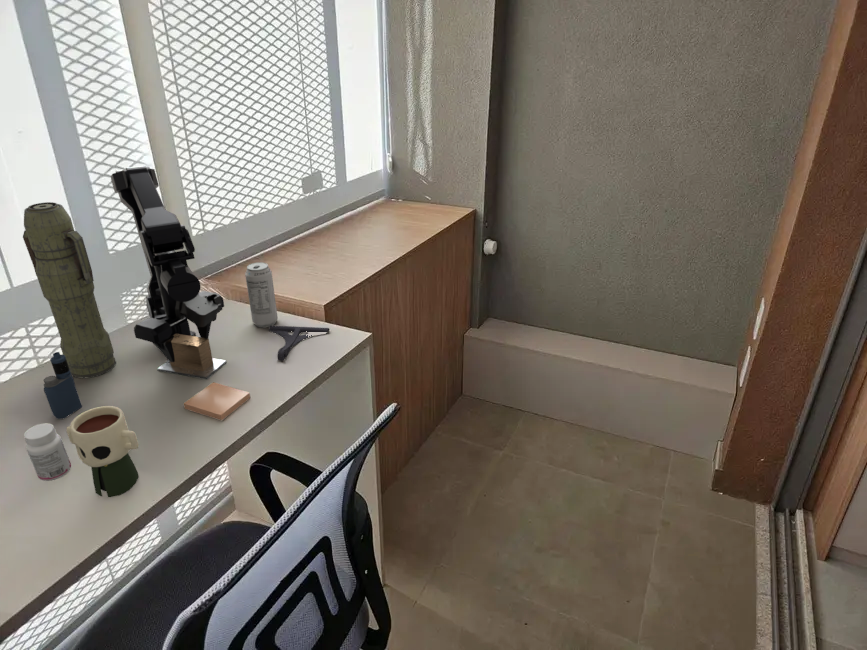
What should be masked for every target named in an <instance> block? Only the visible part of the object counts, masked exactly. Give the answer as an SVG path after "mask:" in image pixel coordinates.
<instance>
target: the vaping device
mask: <svg viewBox="0 0 867 650" xmlns="http://www.w3.org/2000/svg"><path fill="white" fill-rule="evenodd" d="M50 363H51V366H52V369H53V371H54V374H55V375H50V376H49V375H48V376H46V377H45V378H44V379H43V391H44V394H45V397H46V400H47V403H48V405H49V408H50V411H51V413H52V415H53V416H54V417H55V418H56V419H58V420H63V418H64V419H65V418H68V417H69V416H71V415H72V414H74V413H75V412H76V411H78V410H80V409H81V408H82V407H83V404H82V402H81V399H80V396H79V394H78V389H77V387H76V383H75V380H74V378H73V377H74V376H72V374H71V372H70V369H69V366H68V363H67V360H66V357H65V355H63V354H61V353H60V352H59V351H56V352H55V351H54V352H53V353H52V357H51V358H50ZM73 412H74V413H73ZM70 414H71V415H70ZM68 415H69V416H68ZM67 416H68V417H67Z"/></svg>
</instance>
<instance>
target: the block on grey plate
mask: <svg viewBox="0 0 867 650" xmlns="http://www.w3.org/2000/svg"><path fill="white" fill-rule="evenodd" d="M173 336H174V338H173V339H172V341H171V343H172V347H173V352H174V357H175V362H170V361H169V360H168V359H167V360H166V361H165V362H164V363H163V364H161V365H160V366H158V367H157V371H158V372H164V373H169V374H175V375H179V376H180V375H181V376H186V377H191V378H196V379H201V380H208V379H209V378H210V377H212V376H213V375H214V374H215V373H216V372H218V371H219V370H220V369H221V368H222V367H223V366H224V365H225V364H227V362H228V361H227V360H226V359H220V358H214V357H213V354H212V350H211V345H210V340H209V337H208V338H201V337H200V336H195V335H194V336H188V335H182V334H174V335H173Z"/></svg>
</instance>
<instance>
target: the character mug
mask: <svg viewBox="0 0 867 650" xmlns="http://www.w3.org/2000/svg"><path fill="white" fill-rule="evenodd" d="M66 434H67V436H68V439H69V442H70V444H72V445H75V449H76V453H77V455H78V458H79V460H81V462H82V464H85V465H86V466H88V467H89V468H91V475H92V482H93V486H94V491H95V494H97V495H98V496H100V497H103V493H102V491H103V492H105V493H106V496H107V498H114V497H118V496H122V495H123V494H125V493H127V492H129V491H131V489H132V488H133V487H134V486H135V484H137V482H138V480H139V478H140V475H139V472H138V470H137V468H136V467H137V466H135V463H134V461H133V459H132V458H131V456H130V453H129V452H130V450H133V451H135V450H137V449H139V445H140V444H139V441H138V437H137V435H136V432H135V431H132V430H129V428H128V425H127V421H126V418H125V413H124V411H123V410H122V409H121V408H120V407H117V406H114V405H102V406H98V407H94V408H93V407H92V408H91V409H87V410H86V411H83V412H82V413H79V415H77V416H75V417H74V418H73V419H72V421H71V422H70V425H69V426H66Z"/></svg>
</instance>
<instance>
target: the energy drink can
mask: <svg viewBox="0 0 867 650" xmlns="http://www.w3.org/2000/svg"><path fill="white" fill-rule="evenodd" d="M244 274H245V276H244V277H245V282H246V289H247V293H248V296H247V297H248V301H249V307H250V315H251V320H252V323H253V324H255V326H256V327H257V328H269V326H275V324H276V322H277V321H278V319H279V318H278V309H277V301H276V295H275V287H274V280H273V273H272V270H271V268H270V267H269V264H268V263H267V262H260V261H259V262H253V263H252V262H251V263H249V264H248V265H247V266H246V271H245V273H244Z"/></svg>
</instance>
